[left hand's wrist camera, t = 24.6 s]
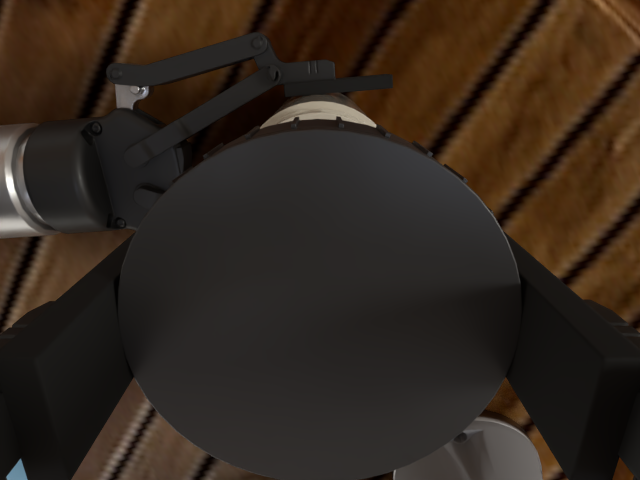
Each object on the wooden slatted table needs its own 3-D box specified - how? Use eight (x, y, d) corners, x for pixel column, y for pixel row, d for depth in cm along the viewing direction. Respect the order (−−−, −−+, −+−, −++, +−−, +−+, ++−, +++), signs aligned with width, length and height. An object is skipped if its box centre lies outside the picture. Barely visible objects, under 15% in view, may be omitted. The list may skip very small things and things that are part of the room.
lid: (471, 422, 14) (497, 484, 12) (171, 425, 14) (146, 486, 12) (514, 113, 11) (561, 123, 8) (121, 118, 11) (73, 128, 8)
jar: (359, 198, 37) (384, 281, 23) (262, 183, 36) (226, 258, 22) (379, 98, 34) (423, 120, 20) (275, 80, 34) (242, 89, 19)
